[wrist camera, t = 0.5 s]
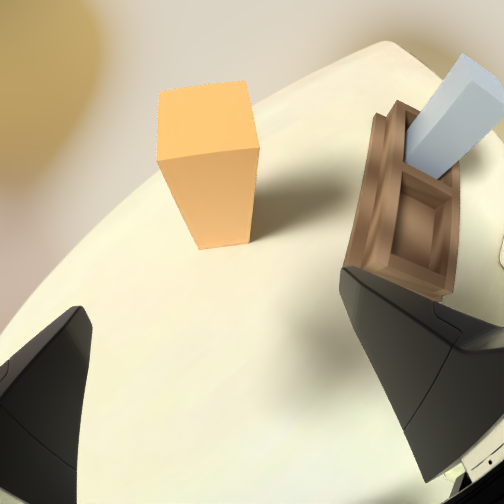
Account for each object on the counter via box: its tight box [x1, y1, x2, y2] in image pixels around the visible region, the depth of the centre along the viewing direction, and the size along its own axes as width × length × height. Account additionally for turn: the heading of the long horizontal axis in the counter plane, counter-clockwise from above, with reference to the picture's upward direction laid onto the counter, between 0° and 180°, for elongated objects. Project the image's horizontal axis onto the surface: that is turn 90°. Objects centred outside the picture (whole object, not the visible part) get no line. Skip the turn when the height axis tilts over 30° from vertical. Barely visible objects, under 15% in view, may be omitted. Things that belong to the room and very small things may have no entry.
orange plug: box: [157, 81, 260, 250], centre depth 17 cm, size 4×4×13 cm
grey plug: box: [403, 53, 504, 179], centre depth 19 cm, size 4×4×13 cm
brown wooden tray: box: [343, 100, 460, 302], centre depth 23 cm, size 18×10×4 cm, turn 160°
